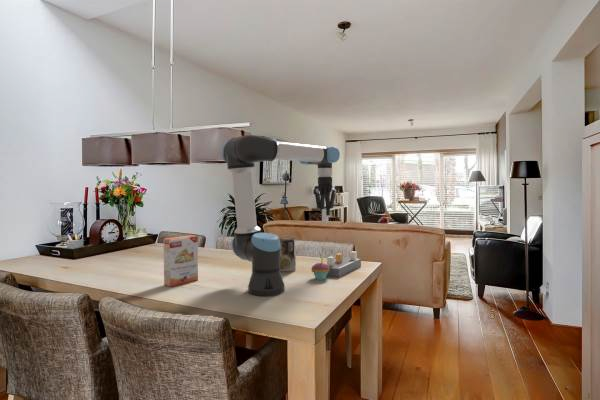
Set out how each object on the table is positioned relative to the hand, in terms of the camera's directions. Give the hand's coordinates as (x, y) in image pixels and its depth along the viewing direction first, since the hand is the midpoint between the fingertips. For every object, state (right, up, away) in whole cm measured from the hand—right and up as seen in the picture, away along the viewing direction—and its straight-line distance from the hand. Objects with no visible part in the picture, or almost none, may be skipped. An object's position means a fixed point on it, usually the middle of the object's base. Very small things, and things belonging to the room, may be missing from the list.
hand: (325, 221), depth 182 cm
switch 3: (+15, -20, +2) cm, 25 cm away
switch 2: (+7, -20, -3) cm, 22 cm away
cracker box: (-67, -26, -24) cm, 76 cm away
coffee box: (-20, -25, -2) cm, 32 cm away
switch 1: (+2, -21, -11) cm, 24 cm away
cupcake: (-3, -26, -19) cm, 32 cm away
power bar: (+9, -25, -4) cm, 26 cm away
